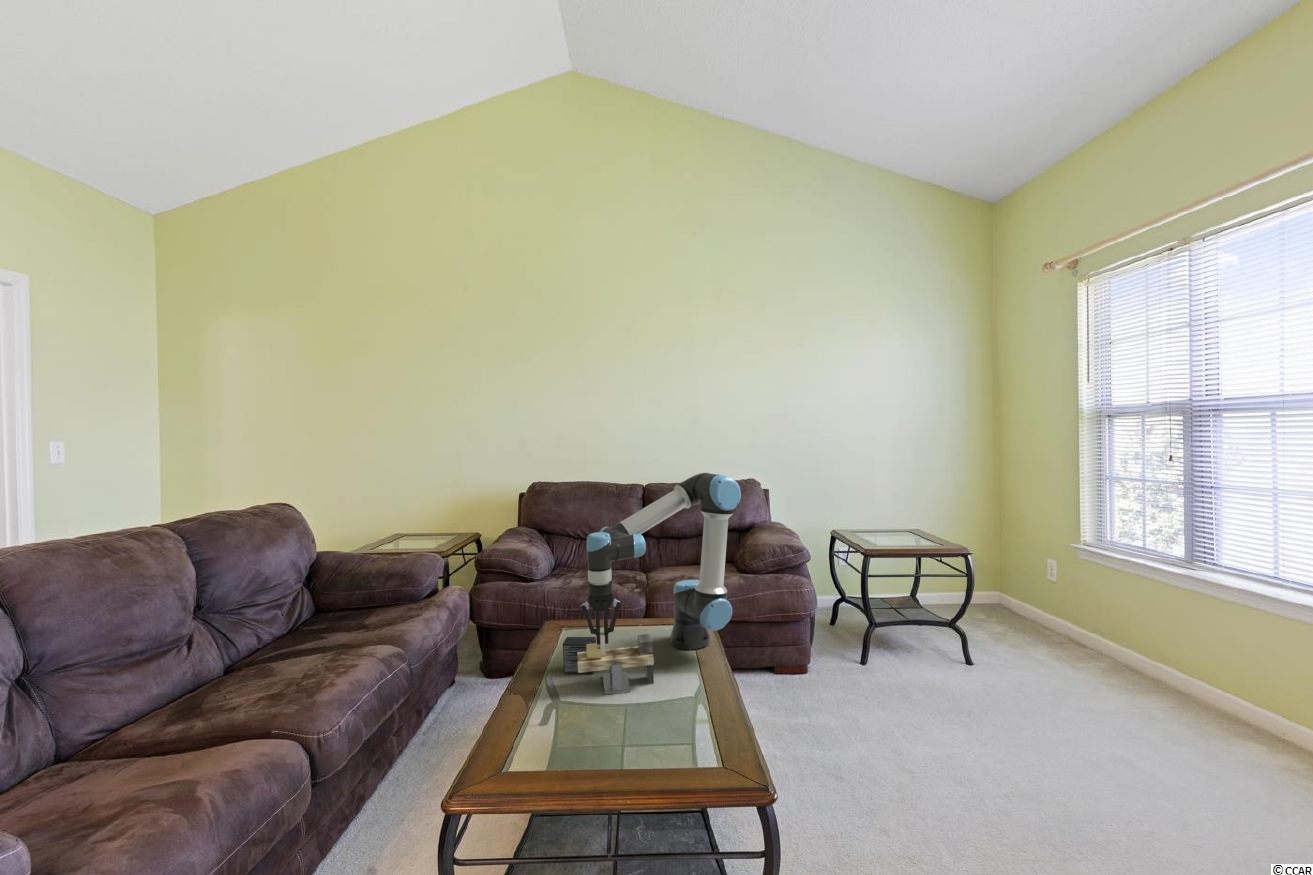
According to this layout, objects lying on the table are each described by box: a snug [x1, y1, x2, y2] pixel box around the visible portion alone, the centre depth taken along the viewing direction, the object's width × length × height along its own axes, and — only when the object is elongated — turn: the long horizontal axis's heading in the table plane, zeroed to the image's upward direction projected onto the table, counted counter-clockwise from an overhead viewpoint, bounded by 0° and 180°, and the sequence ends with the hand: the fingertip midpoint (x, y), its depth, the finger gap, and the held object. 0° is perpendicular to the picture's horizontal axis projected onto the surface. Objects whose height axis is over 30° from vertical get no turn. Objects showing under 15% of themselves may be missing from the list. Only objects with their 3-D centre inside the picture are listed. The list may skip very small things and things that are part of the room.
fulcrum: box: [601, 663, 655, 696], centre depth 179 cm, size 16×12×9 cm
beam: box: [577, 633, 655, 673], centre depth 178 cm, size 24×9×7 cm, turn 99°
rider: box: [586, 642, 601, 661], centre depth 177 cm, size 4×4×5 cm
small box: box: [562, 636, 597, 675], centre depth 189 cm, size 11×6×10 cm, turn 84°
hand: (602, 653), depth 177 cm, fingers closed
